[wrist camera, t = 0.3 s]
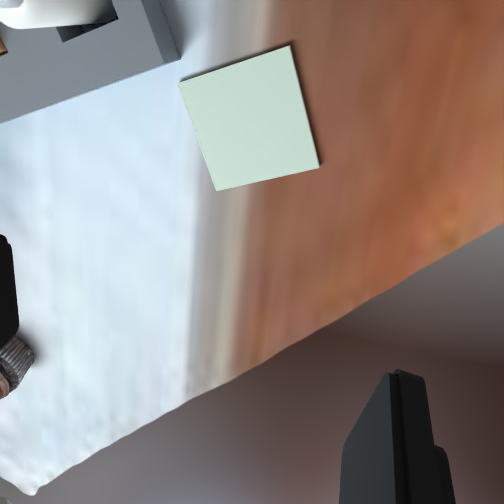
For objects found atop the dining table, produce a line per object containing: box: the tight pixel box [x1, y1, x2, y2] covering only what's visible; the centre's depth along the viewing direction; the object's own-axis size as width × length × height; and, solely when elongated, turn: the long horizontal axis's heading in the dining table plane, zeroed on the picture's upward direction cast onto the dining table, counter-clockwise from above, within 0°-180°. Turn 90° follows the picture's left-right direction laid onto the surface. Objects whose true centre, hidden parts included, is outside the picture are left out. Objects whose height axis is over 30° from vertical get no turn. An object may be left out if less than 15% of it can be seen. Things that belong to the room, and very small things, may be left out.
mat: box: [177, 45, 320, 191], centre depth 44 cm, size 12×12×1 cm
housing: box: [0, 0, 180, 124], centre depth 42 cm, size 16×24×4 cm, turn 108°
